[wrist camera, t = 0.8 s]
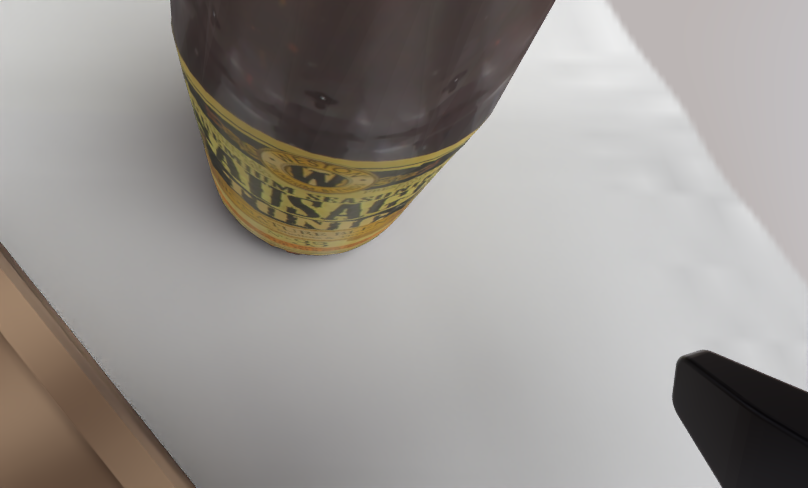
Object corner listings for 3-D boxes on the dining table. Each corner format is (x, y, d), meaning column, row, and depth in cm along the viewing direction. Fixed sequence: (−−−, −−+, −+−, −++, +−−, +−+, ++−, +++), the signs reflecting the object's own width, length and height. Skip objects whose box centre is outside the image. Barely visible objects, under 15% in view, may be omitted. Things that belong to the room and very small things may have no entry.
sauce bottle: (196, 240, 22) (-505, -627, 3) (243, 59, 23) (-10, -1441, 4) (397, 284, 23) (974, -147, 3) (433, 106, 24) (1011, -951, 5)
